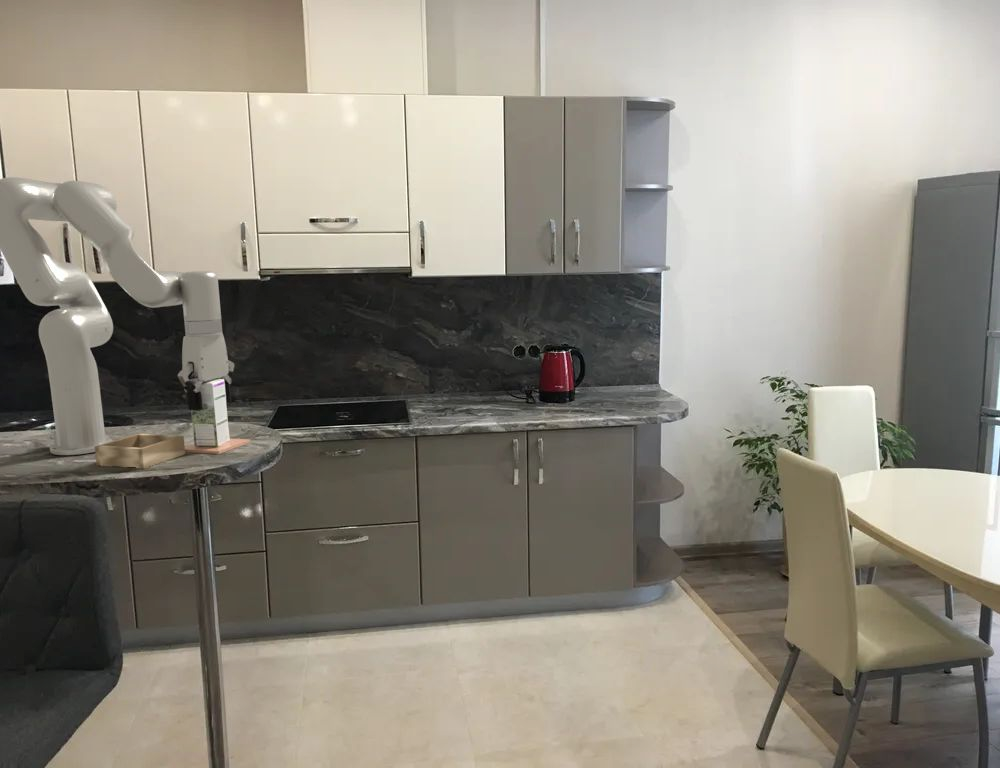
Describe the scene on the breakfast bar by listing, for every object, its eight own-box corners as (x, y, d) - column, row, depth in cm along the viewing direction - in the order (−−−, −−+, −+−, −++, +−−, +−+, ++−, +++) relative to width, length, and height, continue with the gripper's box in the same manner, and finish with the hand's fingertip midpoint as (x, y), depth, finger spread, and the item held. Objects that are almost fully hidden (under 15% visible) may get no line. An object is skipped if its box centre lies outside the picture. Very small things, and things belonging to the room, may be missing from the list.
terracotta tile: (176, 451, 167) (176, 448, 167) (209, 440, 178) (209, 437, 177) (219, 453, 164) (218, 451, 164) (250, 442, 174) (250, 439, 174)
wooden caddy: (96, 465, 157) (94, 446, 156) (140, 451, 168) (138, 433, 168) (144, 468, 153) (142, 449, 153) (185, 453, 165) (183, 435, 164)
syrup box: (230, 441, 173) (225, 377, 171) (217, 447, 167) (212, 382, 165) (207, 441, 174) (201, 378, 171) (193, 447, 168) (187, 382, 166)
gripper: (215, 325, 176) (221, 398, 179) (161, 332, 160) (168, 412, 162) (242, 325, 174) (248, 399, 176) (190, 332, 157) (198, 414, 160)
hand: (210, 405), depth 169 cm, fingers open, 9 cm apart
